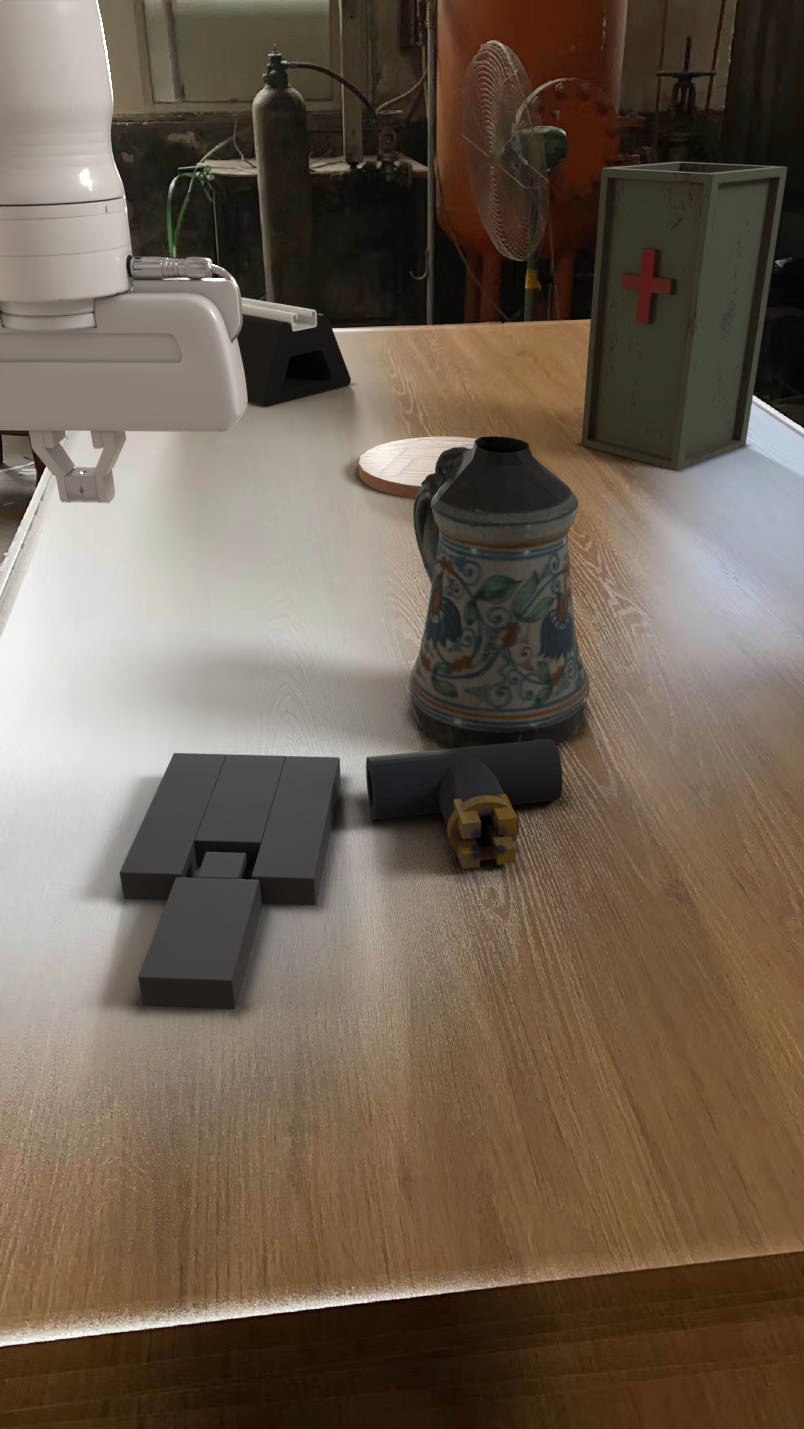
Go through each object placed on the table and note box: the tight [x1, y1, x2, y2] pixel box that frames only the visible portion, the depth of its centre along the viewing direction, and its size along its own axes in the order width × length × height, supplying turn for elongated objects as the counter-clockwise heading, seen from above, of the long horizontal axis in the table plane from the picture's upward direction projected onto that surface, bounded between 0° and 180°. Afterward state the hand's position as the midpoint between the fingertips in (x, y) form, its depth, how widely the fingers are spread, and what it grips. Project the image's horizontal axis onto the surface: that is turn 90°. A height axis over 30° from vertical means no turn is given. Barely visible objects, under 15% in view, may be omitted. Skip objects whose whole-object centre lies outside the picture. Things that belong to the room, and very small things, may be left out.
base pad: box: [119, 752, 342, 906], centre depth 84 cm, size 14×16×2 cm
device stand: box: [237, 296, 352, 407], centre depth 208 cm, size 22×22×15 cm
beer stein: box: [408, 435, 590, 749], centre depth 96 cm, size 16×19×25 cm
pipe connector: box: [365, 739, 563, 870], centre depth 84 cm, size 12×5×15 cm
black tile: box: [138, 852, 263, 1010], centre depth 74 cm, size 6×13×2 cm, turn 177°
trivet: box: [358, 436, 477, 499], centre depth 163 cm, size 25×25×2 cm
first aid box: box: [581, 161, 788, 471], centre depth 164 cm, size 18×18×40 cm
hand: (88, 500), depth 67 cm, fingers closed
